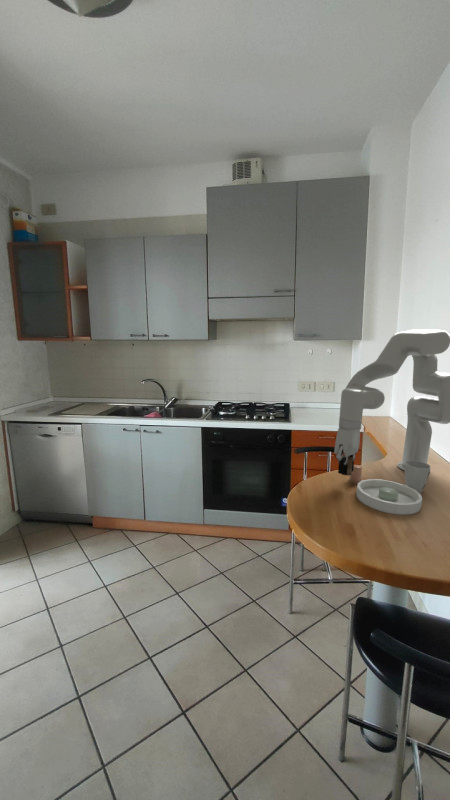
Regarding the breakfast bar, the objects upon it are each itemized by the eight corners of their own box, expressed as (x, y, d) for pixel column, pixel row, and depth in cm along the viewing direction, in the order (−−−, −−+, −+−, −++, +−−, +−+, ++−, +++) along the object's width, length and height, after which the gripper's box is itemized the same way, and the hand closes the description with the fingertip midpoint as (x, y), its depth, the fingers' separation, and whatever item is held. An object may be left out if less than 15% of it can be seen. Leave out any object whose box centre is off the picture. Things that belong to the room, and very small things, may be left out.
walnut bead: (343, 470, 133) (344, 454, 132) (353, 473, 130) (354, 457, 129) (337, 473, 130) (339, 457, 129) (348, 476, 127) (349, 460, 126)
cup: (429, 496, 128) (433, 469, 126) (405, 493, 129) (409, 466, 127) (422, 487, 135) (426, 461, 134) (399, 484, 137) (402, 459, 135)
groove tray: (371, 483, 136) (372, 474, 136) (428, 502, 122) (430, 492, 122) (346, 498, 123) (347, 488, 122) (407, 521, 109) (409, 510, 108)
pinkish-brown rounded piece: (352, 478, 141) (354, 464, 140) (362, 481, 138) (364, 466, 137) (347, 481, 138) (349, 466, 137) (357, 484, 135) (359, 469, 134)
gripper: (351, 417, 135) (346, 463, 139) (328, 425, 123) (324, 475, 127) (370, 421, 130) (365, 469, 133) (348, 430, 118) (344, 482, 122)
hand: (345, 471), depth 130 cm, fingers closed on walnut bead, 4 cm apart
